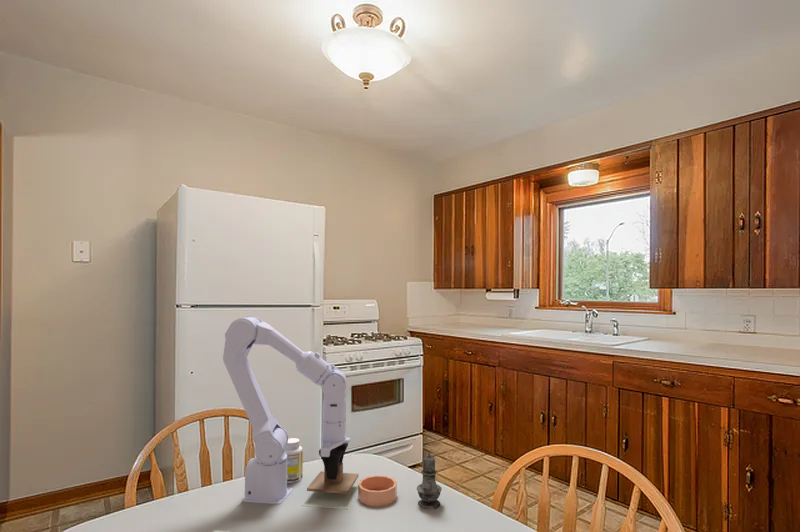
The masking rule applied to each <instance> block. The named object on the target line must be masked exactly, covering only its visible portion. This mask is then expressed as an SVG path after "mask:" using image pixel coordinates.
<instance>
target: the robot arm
mask: <svg viewBox="0 0 800 532" xmlns="http://www.w3.org/2000/svg"><path fill="white" fill-rule="evenodd" d="M224 339H225V341H224V348H223V355H222V360H223V363H224V365H225V368H226V371H227V373H228V375H229V377H230V380H231V381H232V384H233V386H234V389H235V390H236V393H237V396H238V398H239V399H240V403H241V405H242V406H243V409H244V411H245V413H246V416H247V418H248V420H249V422H250V425H251V427H252V428H251V429H252V439H253V442H254V446H255V448H254V455H255V457H252V458H250V459H249V460H248V462H247V465H246V467H245V473H244V499H242V501H243V502H245V503H258V504H269V505H271V504H272V505H281V504H283V502H284V501H285V500H286V499H287V497H289V495H291V493H293V491H294V488H293V487H288V483H287V454H286V452H285V450H284V447H285V446H286V445H287V442H288V439H289V434H288V431H287V430H286V429H285V428H283V427H282V426H281V425H280V423H279V421H278V419H277V418H276V417H275V416H274V415H273V414H272V412H271V410H270V408H269V405H268V403H267V401H266V398H265V396H264V394H263V392H262V390H261V387H260V385H259V382H258V380H257V378H256V376H255V373H254V372H253V369H252V366H251V365H250V362H249V360H248V356H249V353H250V351H251V349H252V348H253V345H260V346H261V345H263V346H264V345H265V346H267V345H268V346H269V347H271V348H273V349H274V350H276V351H277V352H279V353H280V354H282V355H283V356H284V357H286V358H287V359H289V360H291V361H293V362H294V363H295V366H296V367H295V368H296V371H297V372H298V373H300V374H302V376H304V377H306V378H307V379H308V380H310V381H311V382H312V383H314V384H315V385H316V386H320V387H321V391H322V393H323V401H322V422H321V423H322V425H321V426H322V427H321V430H322V432H321V435H322V436H321V439H320V440H321V443H320V444H321V447H320V449H319V450H318V454H319V457H320V459H321V460H322V464H323V467H324V466H325V471H326V475H327V479H333V480H335V479H336V477H337V473H338V466H339V463H343V462H344V461H343V460H344V457H345V453H346V450H347V449H348V447H349V443H350V442H351V437H349V436H348V437H347V435H346V433H347V426H346V425H347V422H346V421H347V419H346V418H347V401H346V395H347V394H346V389H347V376H346V374H345V373H344V372H343V371H342V369H341V368H338V367H336V366H335V364H330V363H328V362H327V361H325V360H324V359H323V358H322V357H320V356H321V353H319V352H318V351H316V352H314V351H311V350H310V351H309V350H308V351H303V350H302V349H301V348H300V347H298V346H297V345H296V344H294V343H293V342H292V341H291V340H289V339H288V338H287V337H285V336H284V335H283V334H282V333H281V332H279V331H278V330H276V328H274V327H273V326H272V325H270V324H268V322H265V321H262V319H260V318H259V317H257V316H254V315H248V316H244V317H240V318H237V319H235V320H233V321H232V322H231V323H230V325H229V326H228V328H227V330H226V331H225V333H224Z"/></svg>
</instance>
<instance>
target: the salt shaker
mask: <svg viewBox="0 0 800 532" xmlns="http://www.w3.org/2000/svg"><path fill="white" fill-rule="evenodd" d="M437 473H438V472H437V470H436V459H435V457H434V456H433V455H431V453H430V451H428V452H427V455H425V456H423V458H422V469H421V474H422V481H421V484H419V485H417V486H416V490H417V494H418V496H419V498H420V500H418V501H417V505H418V507H419V508H421V509H423V510H431V511H432V510H436V509H438V508H440V507H441V501H440V500H438V499H439V498H440V496H441V492H442V487H441V486H440V485H439V484H437V482H436V480H437V479H436V474H437Z"/></svg>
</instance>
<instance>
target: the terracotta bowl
mask: <svg viewBox="0 0 800 532" xmlns="http://www.w3.org/2000/svg"><path fill="white" fill-rule="evenodd" d="M397 497H398V482H397V481H396V480H395V479H394V478H393V477H390V476H387V475H371V476H367V477H364V478H362V479H360V480H359V484H358V491H357V498H358V500H359V501H360V503H362V504H364V505H367V506H373V507H374V506H375V507H381V506H387V505H390V504H392V503H393V502H395V501H396V499H397Z"/></svg>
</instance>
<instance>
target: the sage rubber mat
mask: <svg viewBox="0 0 800 532" xmlns="http://www.w3.org/2000/svg"><path fill="white" fill-rule="evenodd" d="M359 482H360V481H359ZM359 482H358V481H355V483H354V485H353V486H352V488H351V490H350V491H349V493H348V494H342V493H328V492H314V491H310V493H309V495H308V496H307V498H306V499H304V502H303V503H302V504H301V507H308V508H309V507H311V508H324V509H325V508H327V509H340V510H348V509H349V507H350V505H351V504H352V502H353V500H354V498H355V497H356V495H357V494H358V484H359Z"/></svg>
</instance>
